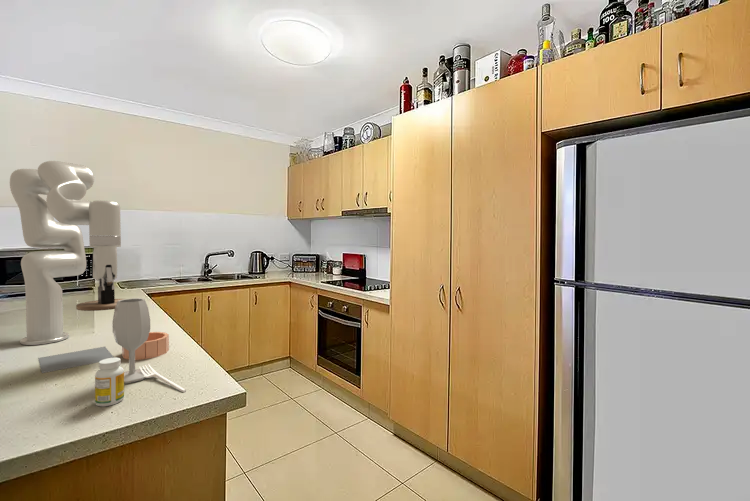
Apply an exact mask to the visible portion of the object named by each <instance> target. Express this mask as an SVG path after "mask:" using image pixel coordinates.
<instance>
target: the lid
mask: <svg viewBox="0 0 750 501" xmlns="http://www.w3.org/2000/svg"><path fill="white" fill-rule="evenodd" d="M101 291H102V286H99V285H98V286H97V300H96V299H95V300H90V301H84V302H81V303H77V304H76V310H77V311H82V312H83V311H84V312H94V311H108V310H115V307H116V304H117V301H119V300H123V299H124V298H115V302H114V303H110V304H101ZM114 293H115V291H114Z"/></svg>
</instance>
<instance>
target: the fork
mask: <svg viewBox="0 0 750 501" xmlns="http://www.w3.org/2000/svg"><path fill="white" fill-rule="evenodd" d="M138 368H139V369H140V370H141V373H142V374H143V375H144V376H145V379H149V378H156V379H158V380H159V381H161V382H163V383H165V384H167V385H169V386H171V387H172V388H174V389H176V390H177V391H180V392H181V393H185V392H187V391H186V388H184V387H182V386H181V385H179V384H177V383H175V382H174V381H172V380H170V379H168V378H166V377H165V376H163V375H161V374H160V372H157V371H156V370H155V369H154V368H153V367H152V366H151V364H150V363H147V365H146V364H144V365H139V367H138ZM142 369H144V371H145V372H146V373H147V374H148V375H147V374H146V373H145V372H144V371H143V370H142ZM146 369H147V370H148V372H149V373H148V372H147V371H146Z"/></svg>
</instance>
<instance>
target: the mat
mask: <svg viewBox="0 0 750 501" xmlns="http://www.w3.org/2000/svg"><path fill="white" fill-rule="evenodd" d="M107 358H115V357H114V355H112V353H111V352H110V351H109V349H108V348H107V347H106V346H100V347H93V348H89V349H82V350H76V351H72V352H65V353H60V354H58V353H57V354H53V355H47V356H42V357H38V363H39V367H40V372H41V374H46V373H50V372H55V371H61V370H66V369H67V370H68V369H71V368H76V367H82V366H86V365H92V364H96V363H98V364H99V362H100V361H101V360H104V359H107Z"/></svg>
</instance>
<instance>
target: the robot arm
mask: <svg viewBox="0 0 750 501" xmlns="http://www.w3.org/2000/svg"><path fill="white" fill-rule="evenodd" d="M94 182H95V175H94V173H93V171H92V170H91V169H90V168H89V167H88V166H86V165H82V164H77V163H70V162H67V161H65V162H64V161H58V160H48V161H44V162H42V163H40V165H39V166H38V167H37V169H34V168H20V169H19V168H18V169H15V170H14V171H12V172H11V174H10V177H9V188H10V192H11V194H12V197H13V199H14V201H15V203H16V204H17V206H18V210H19V214H20V220H21V221H20V222H21V223H20V224H21V230H22V235H23V236H22V237H23V241H24V243H25V244H26V246H28V247H30V248H36V249H37V248H38V249H47V248H48V249H49V248H50V249H52V248H55V249H57V248H58V249H59V248H62V249H63V250H44V251H43V250H38V251H37V250H36V251H32V252H29V253H26V254H24V255H23V257H22V258H21V261H20V266H21V271H22V276H23V280H24V287H25V317H26V318H25V319H26V320H25V324H26V325H25V327H26V330H25V331H26V336H25V337H23V338H21V339H20V344H21V345H25V346H35V345H36V346H37V345H39V346H40V345H45V344H46V345H47V344H53V343H57V342H61V341H64V340H66V339H68V338H69V337H70V334H69V333H68V332H66V331H64V308H63V307H64V306H63V301H64V300H63V297H64V296H63V289H62V287H61V285H60V284H59V283H58V282H56V280H55V279H54V278H65V277H75V276H80V275H82V274H84V272H85V271H86V269H87V257H86V251H85V242H84V237H83V233H82V229H81V228H80V227H79V226H88V227H89V228H88V231H89V232H88V233H89V234H88V236H89V247H90V248H93V252H92V278H93V279H94V280H95V281H98V287H99V286H102V291H101V304H110V303H114V302H115V299H116V297H115V293H114V292H115V281H114V280H116V279H117V277H118V252H117V251H118V250H117V248H118V247H119V248H121V246H122V242H121V241H122V237H121V236H122V235H121V234H122V232H121V230H122V228H121V206H120V204H119V203H118V202H116V201H111V200H100V199H99V200H93V201H91V200H85V199H84V197H85V196H86V194H87V191H88V190H90V189H91V188H92V187H93V185H94ZM40 195H44V196H45V195H46V200H45V199H44V198H43V197H41V196H40ZM82 199H84V200H82Z"/></svg>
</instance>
